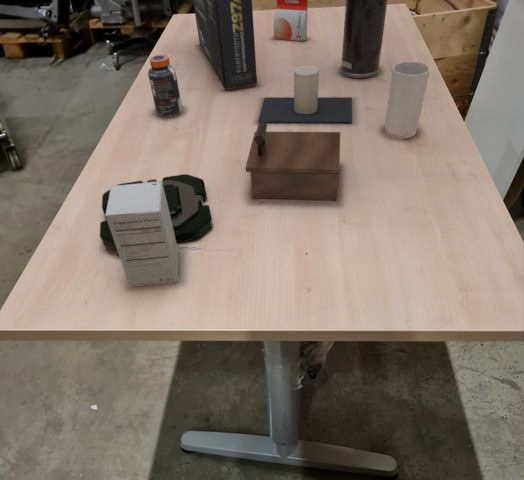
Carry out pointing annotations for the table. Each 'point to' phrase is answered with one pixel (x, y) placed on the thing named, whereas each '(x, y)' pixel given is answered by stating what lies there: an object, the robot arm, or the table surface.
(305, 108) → the canister
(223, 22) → the box
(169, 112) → the pill bottle
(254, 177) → the bread bin
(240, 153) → the table surface
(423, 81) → the white cylindrical cup
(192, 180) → the clover-shaped pad
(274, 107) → the mat
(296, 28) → the ink box
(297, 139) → the bin lid
